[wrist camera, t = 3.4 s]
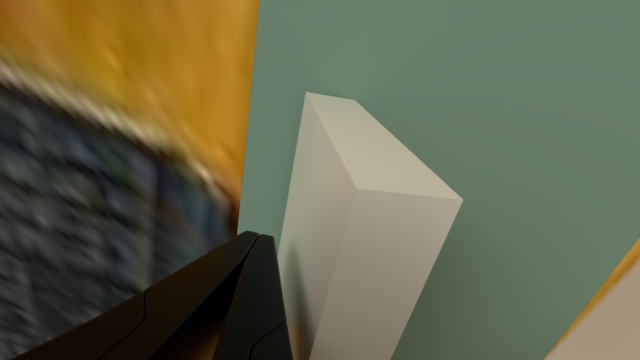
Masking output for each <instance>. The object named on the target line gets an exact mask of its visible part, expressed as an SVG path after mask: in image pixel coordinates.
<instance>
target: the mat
mask: <svg viewBox="0 0 640 360" xmlns="http://www.w3.org/2000/svg"><path fill="white" fill-rule="evenodd" d="M306 92H310V93H316V94H322V95H328V96H333V97H339V98H345V99H351V100H355V101H356V102H357V103H358V104H360V105H361V106H362V107H363V108H364V109H365V110H366V111H367V112H368V113H369V114H370V115H372V116H373V117H374V118H375V119H376V120H377V121H378V122H379V123H380V124H381V125H382V126H384V127H385V128H386V129H387V130H388V131H389V132H390V133H391V134H392V135H393V136H394V137H396V138H397V139H398V140H399V141H400V142H401V143H402V144H403V145H404V146H405V147H406V148H408V149H409V150H410V151H411V152H412V153H413V154H414V155H415V156H416V157H417V158H418V159H420V160H421V161H422V162H423V163H424V164H425V165H426V166H427V167H428V168H429V169H430V170H432V171H433V172H434V173H435V174H436V175H437V176H438V177H439V178H440V179H441V180H442V181H444V182H445V183H446V184H447V185H448V186H449V187H450V188H451V189H452V190H453V191H454V192H456V193H457V194H458V195H459V196H460V197H461V198H462V199H463V202H462V204H461V206H460V208H459V210H458V213H457V215H456V217H455V219H454V221H453V224H452V226H451V228H450V230H449V232H448V234H447V237H446V239H445V241H444V243H443V245H442V248H441V250H440V252H439V254H438V256H437V259H436V261H435V263H434V265H433V267H432V270H431V272H430V274H429V276H428V278H427V280H426V283H425V285H424V287H423V289H422V291H421V294H420V296H419V298H418V300H417V302H416V305H415V307H414V309H413V311H412V313H411V316H410V318H409V320H408V322H407V324H406V326H405V329H404V331H403V333H402V335H401V337H400V340H399V342H398V344H397V346H396V348H395V351H394V353H393V355H392V357H391V359H390V360H543V359H544V358H545V356H546V355H547V354H548V352H549V351H550V350H551V349H552V347H553V346H554V345H555V344H556V342H557V341H558V340H559V339H560V337H561V336H562V335H563V334H564V332H565V331H566V330H567V328H568V327H569V326H570V325H571V323H572V322H573V321H574V320H575V318H576V317H577V316H578V315H579V313H580V312H581V311H582V310H583V308H584V307H585V306H586V304H587V303H588V302H589V301H590V299H591V298H592V297H593V296H594V294H595V293H596V292H597V291H598V289H599V288H600V287H601V286H602V284H603V283H604V282H605V280H606V279H607V278H608V277H609V275H610V274H611V273H612V272H613V270H614V269H615V268H616V267H617V265H618V264H619V263H620V261H621V260H622V259H623V258H624V256H625V255H626V254H627V253H628V251H629V250H630V249H631V248H632V246H633V245H634V244H635V243H636V241H637V240H638V239H639V237H640V0H259V10H258V20H257V31H256V41H255V52H254V62H253V73H252V84H251V94H250V105H249V115H248V126H247V136H246V147H245V158H244V168H243V179H242V189H241V200H240V210H239V221H238V232H237V235H239V234H241V233H242V232H244V231H247V230H248V231H253V232H257V233H259V234H266V235H271V236H274V238H275V244H276V251H277V258H278V252H279V246H280V240H281V234H282V228H283V223H284V217H285V211H286V205H287V199H288V193H289V187H290V182H291V176H292V170H293V164H294V158H295V152H296V146H297V141H298V135H299V129H300V123H301V117H302V111H303V105H304V100H305V94H306Z"/></svg>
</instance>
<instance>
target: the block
mask: <svg viewBox="0 0 640 360" xmlns="http://www.w3.org/2000/svg"><path fill="white" fill-rule="evenodd" d="M462 202H463V199H462V198H461V197H460V196H459V195H458V194H457V193H456V192H454V191H453V190H452V189H451V188H450V187H449V186H448V185H447V184H446V183H445V182H444V181H442V180H441V179H440V178H439V177H438V176H437V175H436V174H435V173H434V172H433V171H432V170H430V169H429V168H428V167H427V166H426V165H425V164H424V163H423V162H422V161H421V160H420V159H418V158H417V157H416V156H415V155H414V154H413V153H412V152H411V151H410V150H409V149H408V148H406V147H405V146H404V145H403V144H402V143H401V142H400V141H399V140H398V139H397V138H396V137H394V136H393V135H392V134H391V133H390V132H389V131H388V130H387V129H386V128H385V127H384V126H382V125H381V124H380V123H379V122H378V121H377V120H376V119H375V118H374V117H373V116H372V115H370V114H369V113H368V112H367V111H366V110H365V109H364V108H363V107H362V106H361V105H360V104H358V103H357V102H356V101H355V100H351V99H345V98H339V97H333V96H328V95H322V94H316V93H310V92H306V94H305V100H304V105H303V111H302V117H301V123H300V129H299V135H298V141H297V146H296V152H295V158H294V164H293V170H292V176H291V182H290V187H289V193H288V199H287V205H286V211H285V217H284V223H283V228H282V234H281V240H280V246H279V252H278V264H279V271H280V278H281V285H282V292H283V298H284V305H285V312H286V319H287V325H288V331H289V338H290V343H291V349H292V354H293V358H294V360H390V359H391V357H392V355H393V353H394V351H395V348H396V346H397V344H398V342H399V340H400V337H401V335H402V333H403V331H404V329H405V326H406V324H407V322H408V320H409V318H410V316H411V313H412V311H413V309H414V307H415V305H416V302H417V300H418V298H419V296H420V294H421V291H422V289H423V287H424V285H425V283H426V280H427V278H428V276H429V274H430V272H431V270H432V267H433V265H434V263H435V261H436V259H437V256H438V254H439V252H440V250H441V248H442V245H443V243H444V241H445V239H446V237H447V234H448V232H449V230H450V228H451V226H452V224H453V221H454V219H455V217H456V215H457V213H458V210H459V208H460V206H461V204H462Z"/></svg>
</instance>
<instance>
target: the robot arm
mask: <svg viewBox="0 0 640 360" xmlns="http://www.w3.org/2000/svg"><path fill="white" fill-rule="evenodd" d="M11 360H294V358H293V354H292V349H291V343H290V338H289V331H288V325H287V319H286V312H285V305H284V298H283V292H282V285H281V278H280V271H279V264H278V258H277V251H276V244H275V238H274V236H271V235H266V234H259V233H257V232H253V231H248V230H247V231H244V232H242V233H241V234H239V235H237V236H236V237H234V238H232V239H230V240H229V241H227V242H225V243H224V244H222V245H220V246H219V247H217V248H215V249H213V250H212V251H210V252H208V253H207V254H205V255H203V256H202V257H200V258H198V259H196V260H195V261H193V262H191V263H190V264H188V265H186V266H185V267H183V268H181V269H180V270H178V271H176V272H174V273H173V274H171V275H169V276H168V277H166V278H164V279H163V280H161V281H159V282H157V283H156V284H154V285H152V286H151V287H149V288H147V289H146V290H145V291H144V292H140V293H139V294H137V295H135V296H133V297H132V298H130V299H128V300H127V301H125V302H123V303H121V304H119V305H118V306H116V307H114V308H112V309H111V310H109V311H107V312H105V313H103V314H101V315H100V316H98V317H96V318H94V319H92V320H90V321H88V322H86V323H84V324H82V325H80V326H78V327H76V328H74V329H72V330H70V331H68V332H66V333H64V334H62V335H60V336H58V337H56V338H54V339H52V340H50V341H48V342H46V343H43V344H41V345H39V346H37V347H35V348H33V349H31V350H29V351H27V352H25V353H23V354H21V355H19V356H17V357H15V358H13V359H11Z"/></svg>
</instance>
